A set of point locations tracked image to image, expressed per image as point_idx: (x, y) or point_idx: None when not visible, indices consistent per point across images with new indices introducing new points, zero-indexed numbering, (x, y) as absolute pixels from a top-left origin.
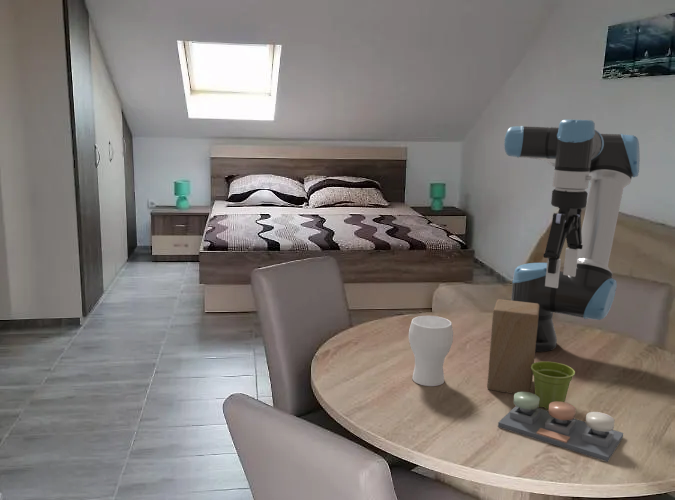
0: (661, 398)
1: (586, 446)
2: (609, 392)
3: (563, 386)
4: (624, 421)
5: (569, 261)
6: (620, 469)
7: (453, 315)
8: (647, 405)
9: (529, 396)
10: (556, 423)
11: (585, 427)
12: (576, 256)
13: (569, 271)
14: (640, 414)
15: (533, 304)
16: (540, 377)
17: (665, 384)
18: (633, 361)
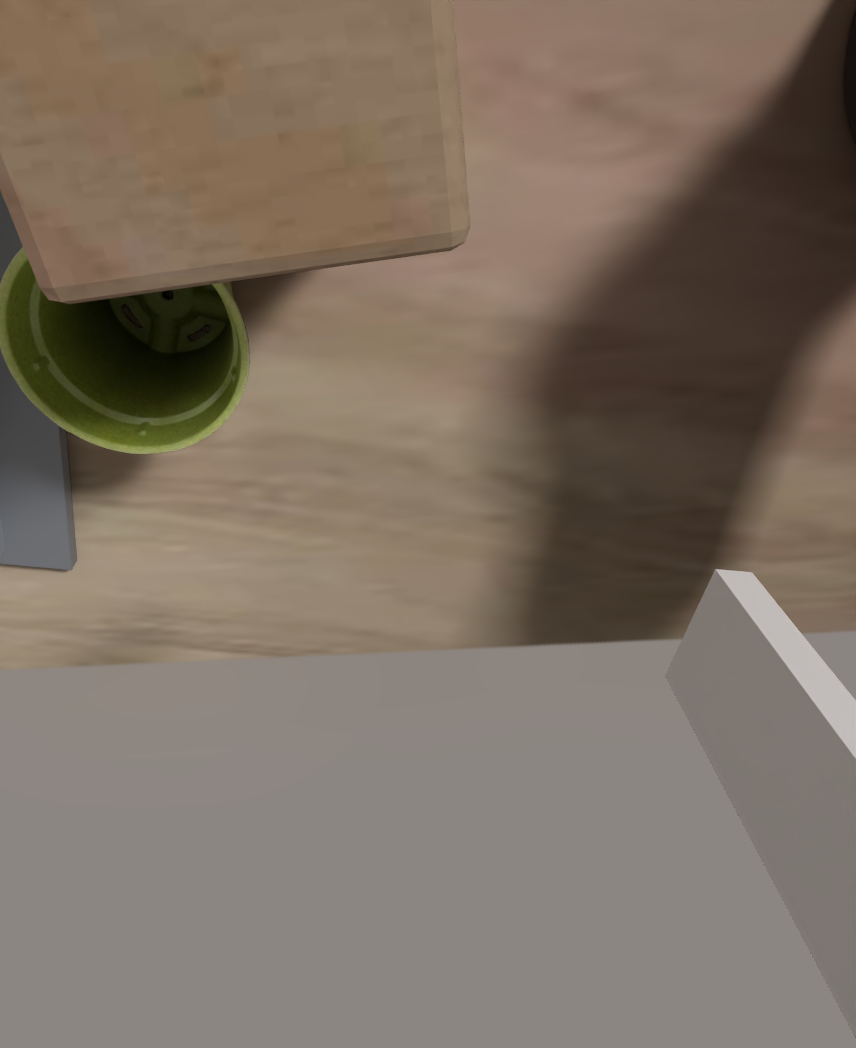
0: (480, 629)
1: None
2: (448, 489)
3: (95, 393)
4: (211, 553)
5: (785, 764)
6: None
7: None
8: (395, 600)
9: None
10: None
11: (10, 462)
12: (795, 913)
13: (712, 664)
14: (304, 588)
15: (387, 197)
16: (20, 290)
17: (614, 632)
18: (818, 534)
